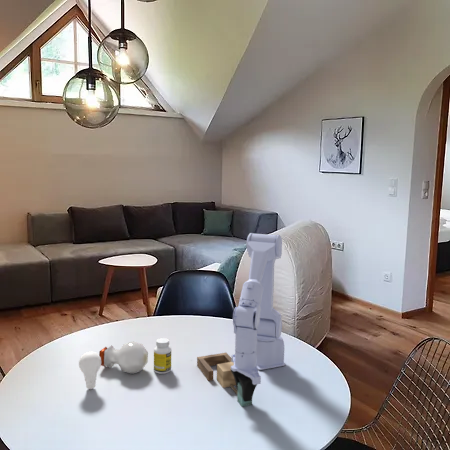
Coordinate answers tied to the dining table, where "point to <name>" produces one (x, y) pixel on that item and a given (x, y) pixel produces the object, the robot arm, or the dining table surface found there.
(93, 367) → the lightbulb
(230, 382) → the wooden blocks on rod
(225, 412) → the dining table surface
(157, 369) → the supplement bottle
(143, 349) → the potion bottle
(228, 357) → the wooden u-shaped bracket
